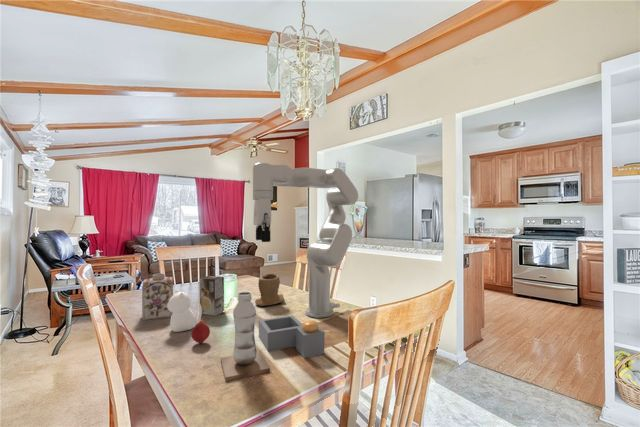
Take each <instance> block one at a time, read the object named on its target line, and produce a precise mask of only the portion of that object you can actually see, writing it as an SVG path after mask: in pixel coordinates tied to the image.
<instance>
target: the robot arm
mask: <svg viewBox="0 0 640 427" xmlns="http://www.w3.org/2000/svg"><path fill="white" fill-rule="evenodd" d="M274 187H290V188H291V187H293V188H294V187H295V188H314V189H328V191H327V192H326V194H325V197H326V202H327V205H328V214H327V216H326V219H325V221H324V223H323V225H322V226H321V229H320V231H319V234H318V237H319V240H320V241H321V242H314V243H312V244H310V245H309V246H308V248H307V250H306V260H307V265H308V308H306V310H305V315H307V316H308V317H310V318H318V319H321V318H323V319H324V318H329V317H331V316H333V315H334V312H335V311H334V309H337V308H340V307H341V304H340V302H337V303H335V302H331V272H330V268H329V267H337V266H339V265H340V264H341V263H342V262H343V259H344V257H345V255H346V253H347V251H348V249H349V247H350V244H351V242H352V240H353V239H352V238H353V230H352V228H351V226H350V225H348V224H346V223H345V222H346V217H347V216H346V212H345V209H344V207H343V206H353V205H354V204H356V203H357V202H358V201H359V200H358V199H359V191H358V189H357V187H356V186H355V185H354V183H353V182H352V180H351V179H350V177H349V176H348V175H347V173H346V172H345V171H343V170H342V169H341V168H339V167H336V168H335V167H334V168H328V169H321V168H313V167H306V166H305V167H296V168H292V167H290V165H286V164H271V163H267V162H256V163H254V164H253V166H252V200H254V204H253V221H252V222H253V223H252V224H253V225H254V226H255V240H256V241H261V243H270V242H271V224H272V204H271V203H272V200H274Z"/></svg>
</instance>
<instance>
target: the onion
mask: <svg viewBox="0 0 640 427" xmlns="http://www.w3.org/2000/svg"><path fill="white" fill-rule="evenodd" d="M210 333H211V330H210V327H209V325H208V324H207V323H205V322H204V320H203V319H200V321H199V322H198V324H196V325H195V326H194V327H193V328H192V329H191V338H192V340H193V341H194V342H196V343H197V344H199V345H200V344H203V343H204V342H205V341H206V340H207V339H208V338H209V336H210Z"/></svg>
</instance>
